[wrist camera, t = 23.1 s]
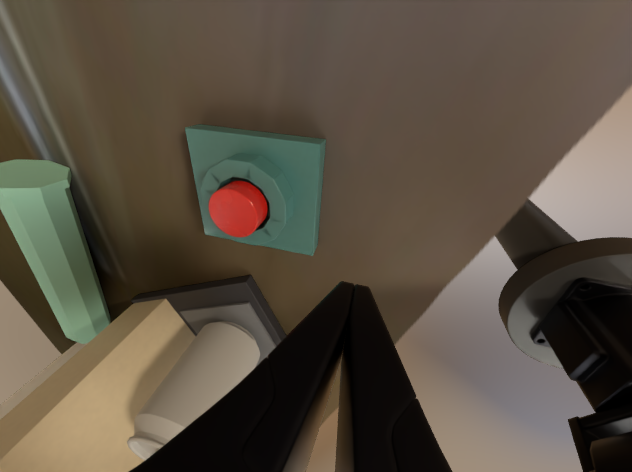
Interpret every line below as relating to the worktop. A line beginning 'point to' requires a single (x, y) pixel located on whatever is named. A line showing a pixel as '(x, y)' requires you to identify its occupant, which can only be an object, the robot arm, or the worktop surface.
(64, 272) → the container
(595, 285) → the robot arm
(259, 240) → the control block
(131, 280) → the worktop surface
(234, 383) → the can
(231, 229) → the button
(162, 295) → the coffee maker
